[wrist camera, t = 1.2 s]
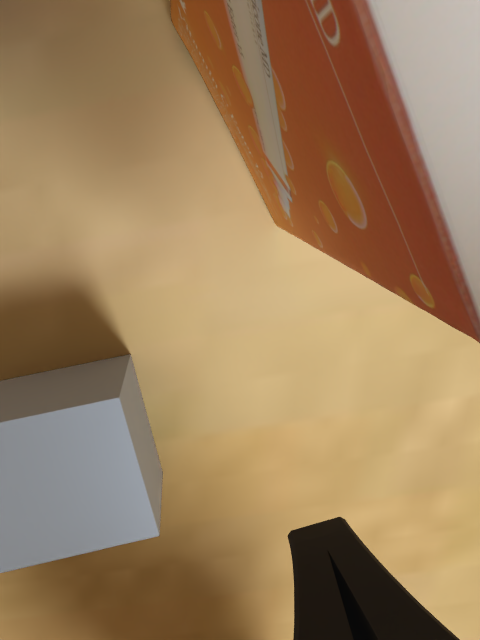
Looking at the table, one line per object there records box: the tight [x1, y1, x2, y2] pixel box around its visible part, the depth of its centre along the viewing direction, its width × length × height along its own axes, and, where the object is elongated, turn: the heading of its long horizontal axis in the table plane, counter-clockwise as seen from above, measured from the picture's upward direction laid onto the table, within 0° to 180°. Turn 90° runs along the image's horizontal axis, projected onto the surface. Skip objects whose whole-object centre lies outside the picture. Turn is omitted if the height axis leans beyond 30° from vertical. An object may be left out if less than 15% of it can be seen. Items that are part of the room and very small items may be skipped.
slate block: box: [0, 354, 163, 573], centre depth 18 cm, size 6×7×4 cm
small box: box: [170, 0, 480, 343], centre depth 10 cm, size 8×6×13 cm
